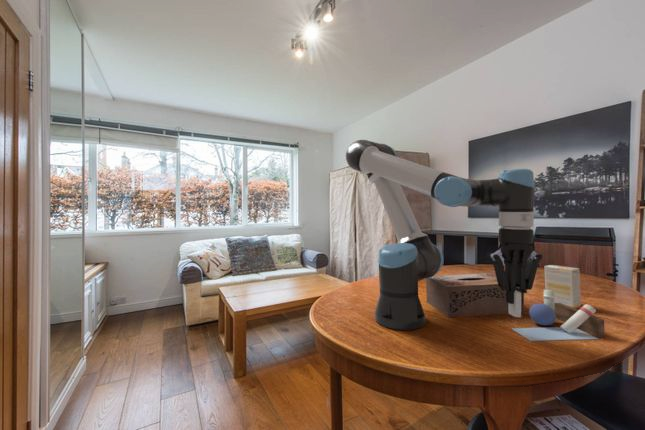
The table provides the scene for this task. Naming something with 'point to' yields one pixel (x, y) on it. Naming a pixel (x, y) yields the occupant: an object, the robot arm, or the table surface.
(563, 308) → the rail
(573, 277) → the supplement box
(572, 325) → the pin
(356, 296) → the table surface
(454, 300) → the tissue box cover
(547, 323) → the ball
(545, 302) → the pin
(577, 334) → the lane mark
